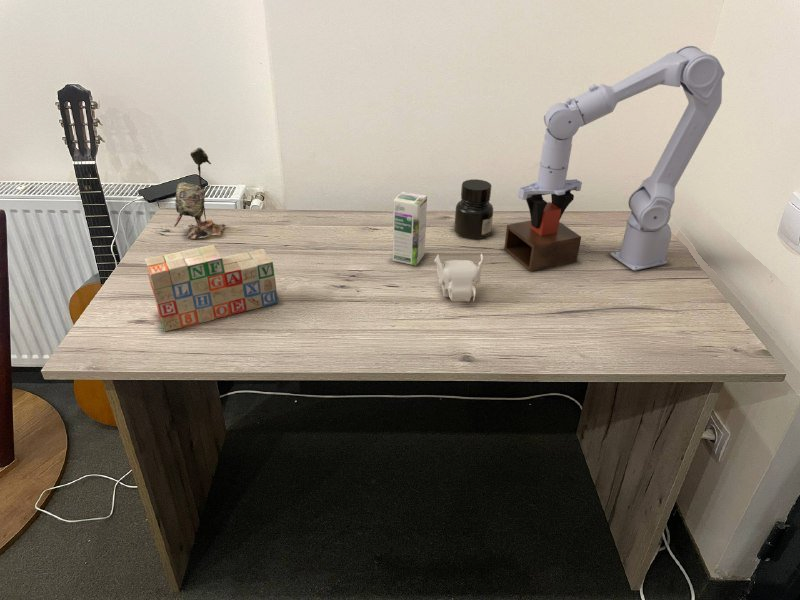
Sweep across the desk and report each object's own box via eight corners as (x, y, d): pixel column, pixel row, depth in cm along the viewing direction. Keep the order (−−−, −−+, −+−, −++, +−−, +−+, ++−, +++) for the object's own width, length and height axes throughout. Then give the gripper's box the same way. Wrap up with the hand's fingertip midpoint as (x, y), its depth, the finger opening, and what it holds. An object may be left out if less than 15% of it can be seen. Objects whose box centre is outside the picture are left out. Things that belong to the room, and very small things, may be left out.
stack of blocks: (268, 289, 121) (262, 234, 114) (278, 304, 116) (272, 247, 110) (158, 315, 113) (143, 257, 106) (163, 332, 108) (149, 273, 101)
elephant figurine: (437, 312, 115) (439, 272, 110) (431, 280, 125) (433, 242, 120) (486, 312, 115) (491, 271, 110) (476, 280, 125) (480, 242, 121)
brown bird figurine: (184, 224, 146) (169, 143, 135) (230, 226, 145) (218, 145, 134) (171, 239, 139) (153, 155, 128) (219, 241, 138) (205, 157, 127)
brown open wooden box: (547, 241, 141) (552, 216, 138) (576, 262, 133) (581, 236, 129) (503, 249, 137) (506, 224, 134) (530, 271, 129) (534, 245, 125)
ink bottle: (493, 241, 141) (498, 193, 134) (455, 240, 141) (459, 192, 134) (488, 223, 149) (493, 177, 142) (452, 222, 149) (456, 176, 143)
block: (546, 225, 134) (550, 201, 131) (557, 233, 131) (561, 209, 128) (530, 228, 132) (533, 204, 129) (541, 236, 129) (544, 212, 126)
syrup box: (391, 261, 132) (392, 199, 124) (401, 250, 136) (403, 189, 128) (416, 266, 130) (418, 204, 122) (425, 254, 134) (428, 194, 127)
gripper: (535, 175, 118) (526, 237, 125) (595, 167, 123) (583, 227, 130) (516, 164, 123) (508, 224, 131) (574, 156, 128) (563, 214, 136)
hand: (544, 224), depth 131 cm, fingers closed on block, 4 cm apart
